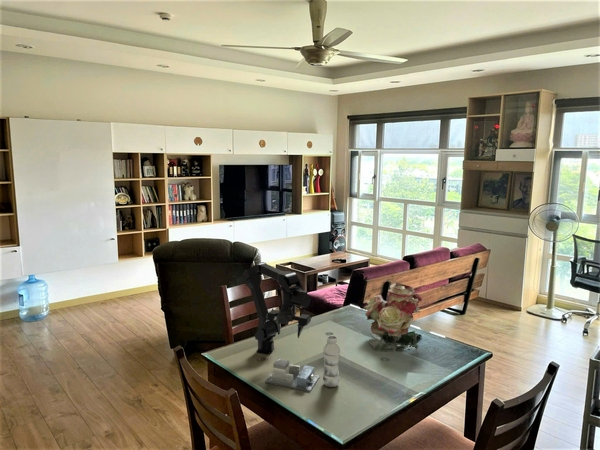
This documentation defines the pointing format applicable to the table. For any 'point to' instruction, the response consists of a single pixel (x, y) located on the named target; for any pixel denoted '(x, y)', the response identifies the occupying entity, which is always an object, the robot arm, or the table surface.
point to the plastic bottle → (331, 362)
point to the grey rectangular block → (281, 366)
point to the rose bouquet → (393, 318)
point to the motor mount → (295, 378)
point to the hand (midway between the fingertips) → (288, 335)
